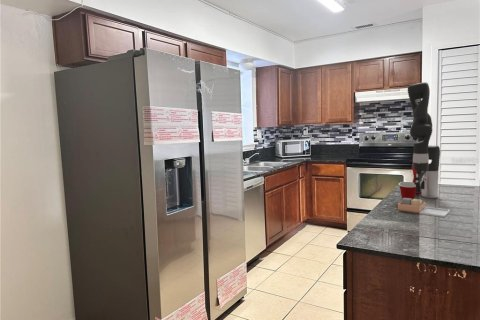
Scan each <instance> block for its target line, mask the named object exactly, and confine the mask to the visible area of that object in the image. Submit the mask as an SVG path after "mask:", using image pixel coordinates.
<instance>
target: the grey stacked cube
mask: <svg viewBox="0 0 480 320" xmlns="http://www.w3.org/2000/svg"><path fill="white" fill-rule="evenodd" d="M411 200H412V199H411V198H403V199H402V198H401V201H402V204H405V205H411Z"/></svg>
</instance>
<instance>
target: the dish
mask: <svg viewBox="0 0 480 320" xmlns="http://www.w3.org/2000/svg"><path fill="white" fill-rule="evenodd" d="M425 207H426V201H422V204H421V205H420V206H413V205H405V204H402V200H401V201H400V202H398V203H397V211H400V212H401V211H402V212H408V213H415V214H420V211H422V210H423V209H424V208H425Z"/></svg>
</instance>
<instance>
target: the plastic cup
mask: <svg viewBox="0 0 480 320" xmlns="http://www.w3.org/2000/svg"><path fill="white" fill-rule="evenodd" d="M398 186H399V191H400V195H401V200H402V199H403V198H411V199H412V200H413V199H416V198H415V197H416V194H417V193H416V185H415V184H414V183H413V181H402V182H399V183H398Z"/></svg>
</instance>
